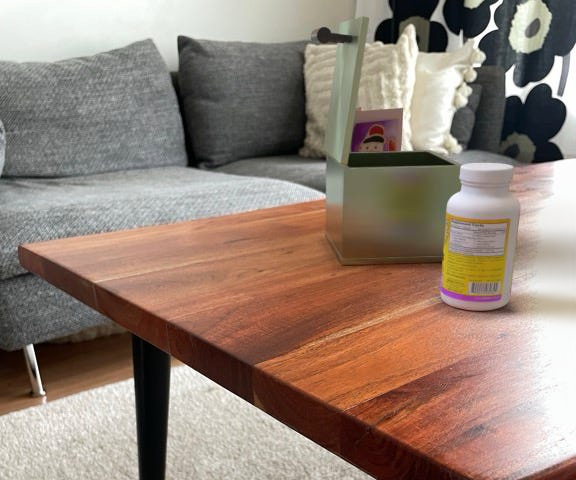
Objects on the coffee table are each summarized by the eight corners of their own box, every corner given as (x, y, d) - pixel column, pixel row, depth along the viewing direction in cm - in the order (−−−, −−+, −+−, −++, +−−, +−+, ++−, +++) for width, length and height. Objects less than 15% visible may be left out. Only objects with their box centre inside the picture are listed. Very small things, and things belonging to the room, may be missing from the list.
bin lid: (346, 23, 86) (308, 17, 85) (369, 17, 72) (324, 11, 72) (329, 148, 91) (293, 144, 91) (347, 164, 78) (305, 159, 78)
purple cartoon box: (347, 223, 103) (350, 112, 97) (313, 216, 108) (314, 109, 102) (402, 213, 110) (407, 108, 103) (367, 206, 115) (370, 105, 109)
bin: (425, 233, 97) (431, 150, 92) (457, 261, 84) (466, 166, 79) (325, 236, 96) (326, 152, 92) (341, 265, 83) (343, 168, 78)
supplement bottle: (464, 287, 75) (477, 158, 69) (522, 301, 70) (540, 165, 65) (425, 301, 70) (435, 166, 65) (484, 317, 66) (499, 173, 61)
